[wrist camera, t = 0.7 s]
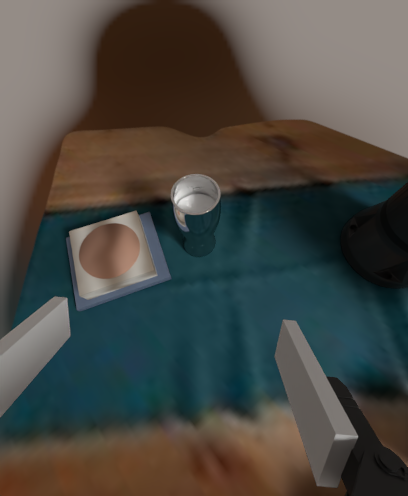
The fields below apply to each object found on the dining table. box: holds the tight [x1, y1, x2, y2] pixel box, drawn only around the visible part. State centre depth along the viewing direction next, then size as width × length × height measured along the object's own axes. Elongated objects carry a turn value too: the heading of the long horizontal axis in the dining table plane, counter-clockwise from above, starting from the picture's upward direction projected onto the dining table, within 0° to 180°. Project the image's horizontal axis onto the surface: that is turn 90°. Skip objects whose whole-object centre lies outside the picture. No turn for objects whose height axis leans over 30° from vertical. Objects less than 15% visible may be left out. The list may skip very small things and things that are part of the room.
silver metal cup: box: [171, 174, 221, 257], centre depth 39 cm, size 7×7×15 cm
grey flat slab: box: [66, 212, 171, 311], centre depth 44 cm, size 16×14×1 cm
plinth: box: [69, 211, 158, 300], centre depth 42 cm, size 12×12×3 cm
